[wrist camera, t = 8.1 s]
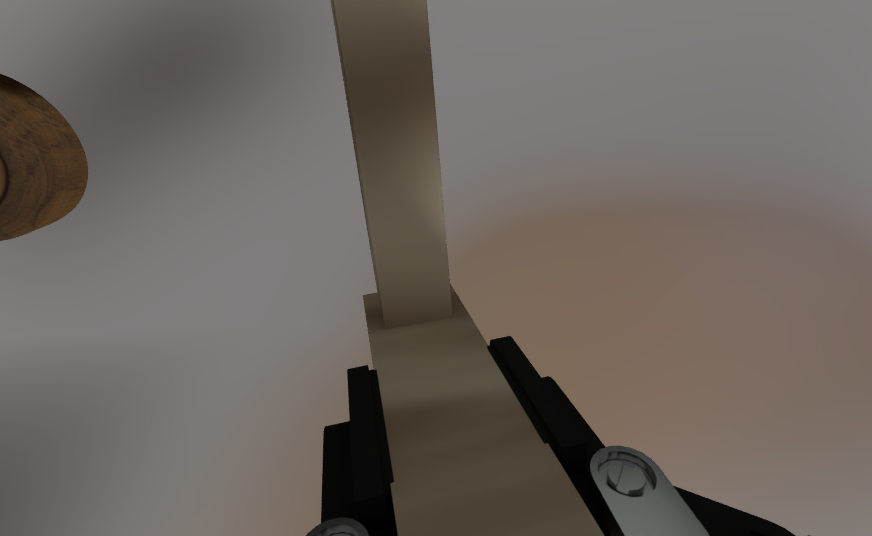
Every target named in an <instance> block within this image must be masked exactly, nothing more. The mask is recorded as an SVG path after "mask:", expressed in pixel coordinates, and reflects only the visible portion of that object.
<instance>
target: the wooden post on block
mask: <svg viewBox="0 0 872 536" xmlns="http://www.w3.org/2000/svg"><path fill="white" fill-rule="evenodd" d="M331 6H332V12H333V18H334V25H335V31H336V37H337V43H338V50H339V56H340V62H341V68H342V74H343V81H344V87H345V93H346V99H347V105H348V112H349V118H350V124H351V131H352V137H353V143H354V149H355V155H356V161H357V168H358V173H359V181H360V186H361V193H362V199H363V205H364V212H365V218H366V224H367V230H368V236H369V243H370V249H371V255H372V261H373V268H374V274H375V280H376V286H377V293H373V294H367V295H363V300H364V307H365V313H366V320H367V327H368V334H369V341H370V347H371V354H372V361H373V368H374V370H376V369H377V375H378V381H379V388H380V394H381V400H382V407H383V413H384V420H385V426H386V432H387V439H388V445H389V451H390V458H391V464H392V471H393V477H394V482H393V483H390V485H391V492H392V499H393V505H394V512H395V519H396V526H397V533H398V536H604V534H603V533H602V531H601V529H600V528H599V526H598V524H597V523H596V521H595V519H594V518H593V516H592V515H591V513H590V511H589V510H588V508H587V506H586V505H585V503H584V501H583V500H582V498H581V497H580V495H579V493H578V492H577V490H576V488H575V487H574V485H573V483H572V482H571V480H570V479H569V477H568V475H567V474H566V472H565V470H564V469H563V467H562V465H561V464H560V462H559V461H558V459H557V457H556V456H555V454H554V452H553V451H552V449H551V447H550V446H549V444H548V443H547V444H544V443H543V441H542V439H541V438H540V436H539V434H538V433H537V431H536V429H535V428H534V426H533V424H532V423H531V421H530V419H529V417H528V416H527V414H526V412H525V411H524V409H523V407H522V406H521V404H520V402H519V401H518V399H517V397H516V396H515V394H514V392H513V391H512V389H511V387H510V386H509V384H508V382H507V381H506V379H505V377H504V376H503V374H502V372H501V371H500V369H499V367H498V366H497V364H496V362H495V361H494V359H493V357H492V356H491V354H490V352H489V351H488V349H487V346H488V345H487V343H486V341H485V340H484V338H483V336H482V335H481V333H480V331H479V330H478V328H477V326H476V325H475V323H474V322H473V320H472V318H471V317H470V315H469V313H468V312H467V310H466V309H465V307H464V305H463V304H462V303H461V300H460V299H459V297H458V295H457V294H456V292H455V291H454V289H453V287H452V286H451V284H450V280H449V268H448V256H447V244H446V231H445V220H444V206H443V194H442V182H441V170H440V158H439V146H438V133H437V121H436V110H435V97H434V86H433V72H432V62H431V61H432V60H431V49H430V37H429V23H428V11H427V0H331Z"/></svg>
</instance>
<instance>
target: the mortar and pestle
mask: <svg viewBox="0 0 872 536" xmlns="http://www.w3.org/2000/svg"><path fill="white" fill-rule="evenodd" d="M87 179H88V166H87V160H86V156H85V152H84V150H83V147H82V145H81V143H80V141H79V139H78V137H77V135H76V133H75V132H74V130H73V129H72V127H71V126H70V125H69V123H68V122H67V121H66V120H65V118H64V117H63V116H62V115H61V114H60V113H59V112H58V110H57V109H55V107H53V106H52V105H51V104H50V103H49V102H48V101H47V100H45V99H44V98H43V97H42V96H40V95H39V94H37V93H36V92H35V91H33V90H32V89H30V88H29V87H27V86H25V85H23V84H22V83H20V82H18V81H16V80H14V79H12V78H9V77H7V76H4V75H2V74H0V241H2V240H8V239H12V238H16V237H19V236H22V235H24V234H27V233H29V232H32V231H34V230H36V229H39V228H41V227H44V226H46V225H49V224H51V223H53V222H55V221H57V220H59V219H61V218H62V217H64V216H65V215H67V214H68V213H69V212H70V211H72V210H73V209H74V208H75V207H76V205H77V204H78V203H79V201H80V200H81V198H82V196H83V194H84V191H85V188H86V185H87Z"/></svg>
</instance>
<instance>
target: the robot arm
mask: <svg viewBox="0 0 872 536" xmlns="http://www.w3.org/2000/svg"><path fill="white" fill-rule="evenodd" d="M487 349H488V351H489V352H490V354H491V356H492V357H493V359H494V361H495V362H496V364H497V366H498V367H499V369H500V371H501V372H502V374H503V376H504V377H505V379H506V381H507V382H508V384H509V386H510V387H511V389H512V391H513V392H514V394H515V396H516V397H517V399H518V401H519V402H520V404H521V406H522V407H523V409H524V411H525V412H526V414H527V416H528V417H529V419H530V421H531V423H532V424H533V426H534V428H535V429H536V431H537V433H538V434H539V436H540V438H541V439H542V441H543V443H544V444H547V443H548V444H549V446H550V447H551V449H552V451H553V452H554V454H555V456H556V457H557V459H558V461H559V462H560V464H561V465H562V467H563V469H564V470H565V472H566V474H567V475H568V477H569V479H570V480H571V482H572V483H573V485H574V487H575V488H576V490H577V492H578V493H579V495H580V497H581V498H582V500H583V501H584V503H585V505H586V506H587V508H588V510H589V511H590V513H591V515H592V516H593V518H594V519H595V521H596V523H597V524H598V526H599V528H600V529H601V531H602V533H603V534H604V536H795V535H794V534H792V533H791V532H789V531H788V530H786V529H785V528H783V527H781V526H779V525H777V524H775V523H773V522H770V521H768V520H765V519H762V518H760V517H757V516H754V515H751V514H749V513H746V512H743V511H740V510H738V509H735V508H732V507H729V506H727V505H724V504H722V503H719V502H716V501H713V500H711V499H708V498H705V497H702V496H700V495H697V494H694V493H692V492H688V491H686V490H683V489H681V488H678V487H675V486H673V485H672V484H671V482H670V481H669V480H668V478H667V477H666V476H665V475H664V473H663V472H662V471H661V469H660V468H659V467H658V466H657V464H656V463H655V462H654V461H653V460H652V459H651V458H649V457H648V456H646V455H645V454H643V453H642V452H639V451H637V450H635V449H632V448H628V447H623V446H608V447H605V446H604V445H603V444H602V442H601V441H600V440H599V438H598V437H597V436H596V434H595V433H594V432H593V430H592V429H591V428H590V426H589V425H588V424H587V423H586V421H585V420H584V419H583V417H582V416H581V415H580V414H579V412H578V411H577V410H576V408H575V407H574V405H573V404H572V403H571V402H570V400H569V399H568V398H567V396H566V395H565V394H564V393H563V391H562V390H561V389H560V387H559V386H558V385H557V383H556V382H555V381H554V380H553V379H552V378H551V377H549V376H547V377H543V378H541V377H540V375H539V374H538V373H537V371H536V370H535V368H534V367H533V366H532V364H531V363H530V362H529V360H528V359H527V358H526V356H525V355H524V353H523V352H522V351H521V349H520V348H519V346H518V345H517V344H516V342H515V341H514V340H513V338H512V337H511V336H507V337H502V338H497V339H492V340H491V341H490V345H489V346H487ZM347 374H348V394H349V414H350V421H348V422H344V423H339V424H335V425H330V426H326V427H325V428H324V438H323V441H324V442H323V474H322V510H321V511H322V512H321V524H319V525H318V526H316V527H315V528H314V529H313V530H311V531H310V532H309V533H308V534H307V535H306V536H398V533H397V526H396V519H395V512H394V505H393V499H392V492H391V485H390V483H393V482H394V477H393V471H392V464H391V458H390V451H389V445H388V439H387V432H386V426H385V420H384V413H383V407H382V400H381V394H380V388H379V381H378V375H377V369H376V370H369V369H368V365H366V366H361V367H356V368H351V369H348V370H347ZM808 536H809V535H808Z"/></svg>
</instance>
